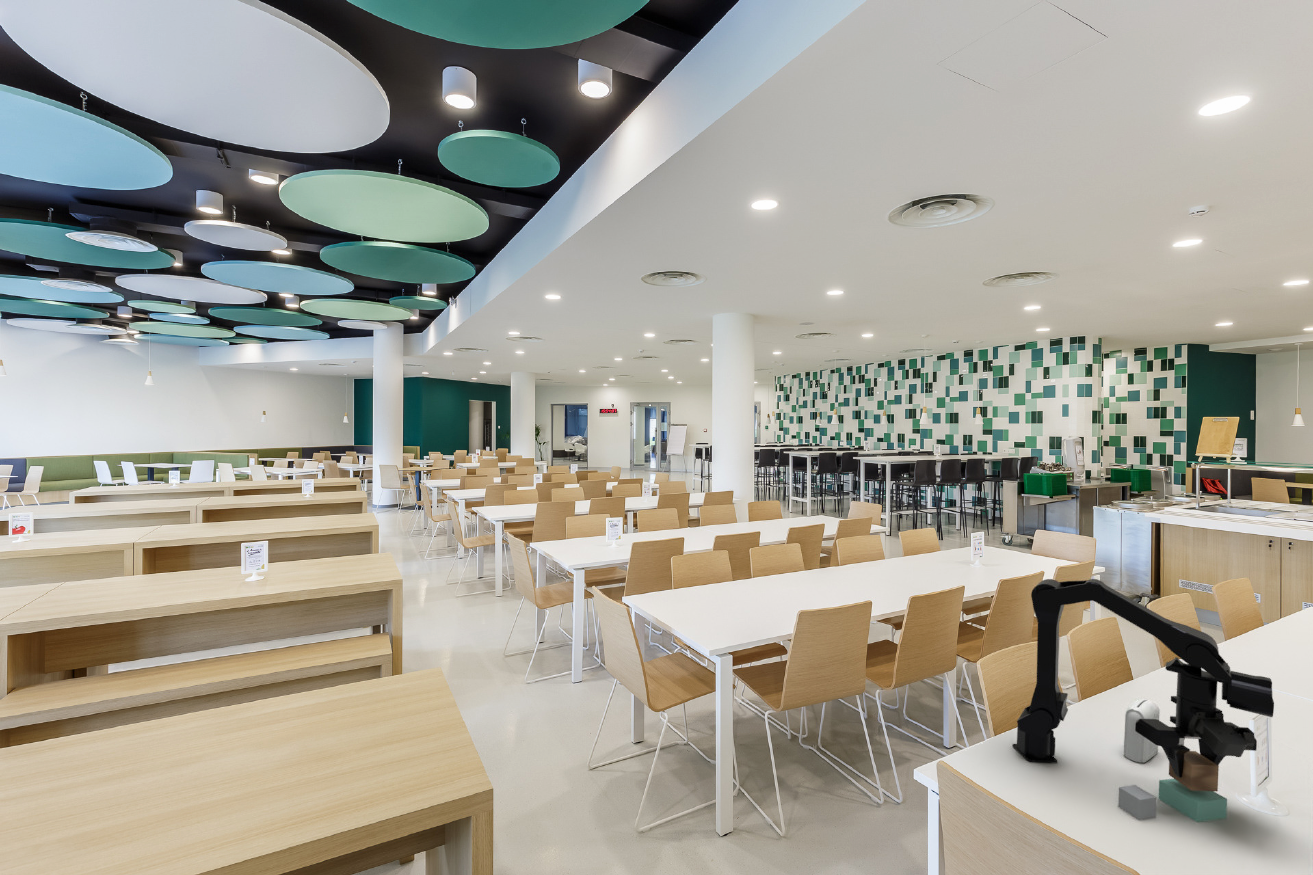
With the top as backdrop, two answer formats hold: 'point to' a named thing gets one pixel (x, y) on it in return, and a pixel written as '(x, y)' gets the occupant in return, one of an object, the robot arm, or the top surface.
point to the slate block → (1137, 802)
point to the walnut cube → (1197, 773)
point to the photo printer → (1133, 741)
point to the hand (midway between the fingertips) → (1192, 776)
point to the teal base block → (1193, 801)
